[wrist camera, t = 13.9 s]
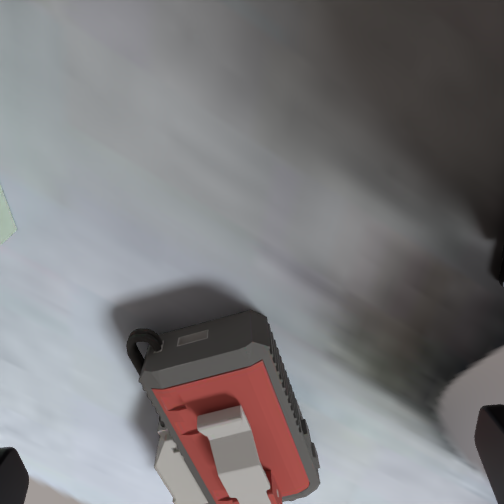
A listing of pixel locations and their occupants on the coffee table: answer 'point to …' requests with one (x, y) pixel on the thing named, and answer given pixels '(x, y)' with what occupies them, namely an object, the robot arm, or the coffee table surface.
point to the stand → (5, 219)
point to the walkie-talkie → (225, 414)
